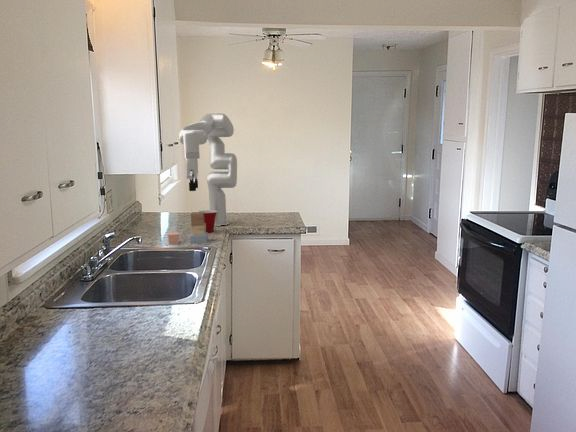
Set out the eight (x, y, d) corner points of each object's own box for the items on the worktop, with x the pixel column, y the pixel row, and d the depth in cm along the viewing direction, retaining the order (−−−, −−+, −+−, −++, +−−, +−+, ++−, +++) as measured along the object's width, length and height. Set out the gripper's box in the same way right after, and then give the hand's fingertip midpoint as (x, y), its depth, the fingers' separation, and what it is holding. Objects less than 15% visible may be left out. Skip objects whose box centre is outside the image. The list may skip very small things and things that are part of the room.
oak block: (194, 232, 260) (193, 223, 259) (205, 232, 260) (205, 223, 259) (192, 235, 254) (191, 225, 253) (204, 234, 254) (203, 225, 253)
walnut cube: (192, 223, 258) (192, 212, 257) (204, 223, 259) (203, 211, 257) (191, 225, 252) (190, 214, 251) (203, 225, 253) (202, 213, 252)
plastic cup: (221, 230, 283) (220, 209, 280) (213, 234, 272) (212, 212, 270) (203, 229, 286) (202, 208, 283) (195, 233, 275) (194, 211, 273)
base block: (192, 240, 261) (192, 232, 260) (207, 239, 261) (207, 232, 261) (190, 243, 253) (190, 236, 252) (206, 243, 253) (206, 235, 253)
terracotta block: (168, 242, 255) (167, 232, 254) (178, 241, 257) (177, 232, 256) (168, 244, 251) (168, 234, 250) (179, 243, 252) (178, 234, 251)
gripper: (186, 154, 258) (188, 187, 261) (181, 157, 241) (184, 192, 245) (201, 154, 258) (203, 186, 262) (197, 156, 242) (199, 191, 245)
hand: (193, 189), depth 253 cm, fingers open, 9 cm apart
